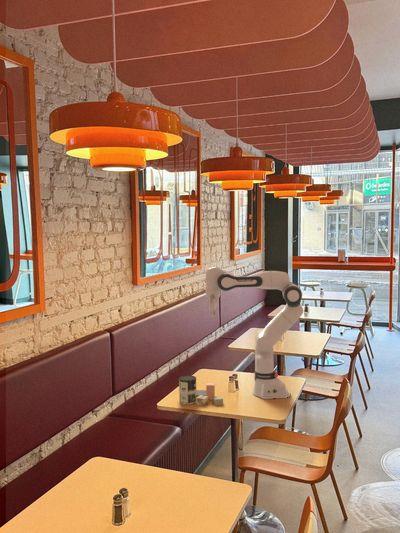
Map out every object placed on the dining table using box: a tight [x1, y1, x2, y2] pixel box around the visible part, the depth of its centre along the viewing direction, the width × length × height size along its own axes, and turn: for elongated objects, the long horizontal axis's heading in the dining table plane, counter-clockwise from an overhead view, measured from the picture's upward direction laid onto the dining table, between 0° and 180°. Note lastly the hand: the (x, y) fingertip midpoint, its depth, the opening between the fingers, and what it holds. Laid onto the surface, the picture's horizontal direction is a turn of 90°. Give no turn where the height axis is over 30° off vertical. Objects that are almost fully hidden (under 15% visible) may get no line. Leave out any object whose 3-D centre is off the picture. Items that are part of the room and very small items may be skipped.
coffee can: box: [178, 374, 197, 405], centre depth 290 cm, size 10×10×14 cm
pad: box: [196, 389, 206, 397], centre depth 302 cm, size 9×9×1 cm
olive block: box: [212, 395, 224, 406], centre depth 286 cm, size 5×5×4 cm
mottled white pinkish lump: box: [196, 395, 209, 406], centre depth 286 cm, size 5×5×4 cm
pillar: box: [205, 382, 216, 401], centre depth 293 cm, size 4×4×9 cm
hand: (213, 316), depth 300 cm, fingers open, 8 cm apart
